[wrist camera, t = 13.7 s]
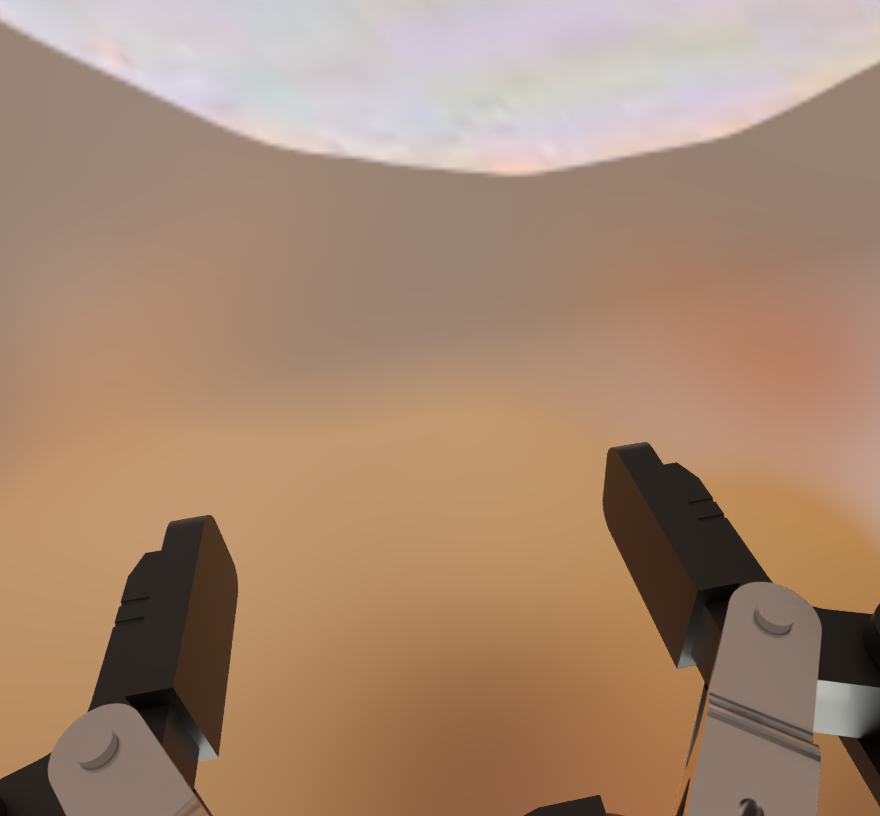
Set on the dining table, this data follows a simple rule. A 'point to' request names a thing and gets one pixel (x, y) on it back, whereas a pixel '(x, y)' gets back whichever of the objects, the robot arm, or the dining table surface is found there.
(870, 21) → the dining table surface
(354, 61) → the dining table surface
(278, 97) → the dining table surface
